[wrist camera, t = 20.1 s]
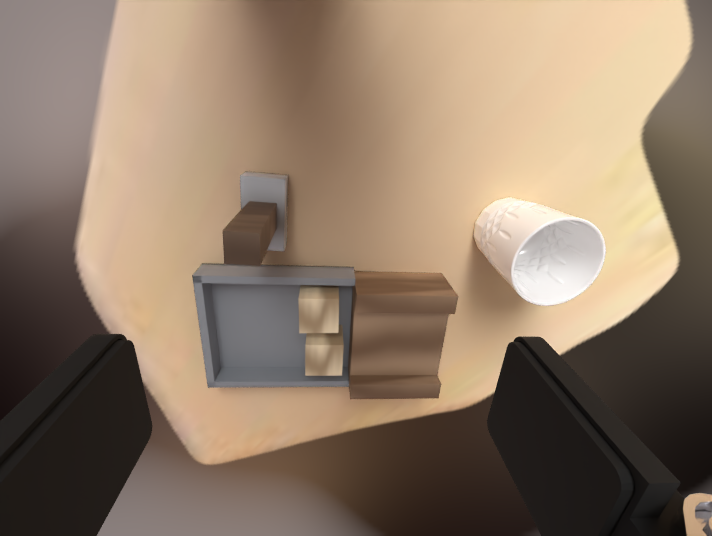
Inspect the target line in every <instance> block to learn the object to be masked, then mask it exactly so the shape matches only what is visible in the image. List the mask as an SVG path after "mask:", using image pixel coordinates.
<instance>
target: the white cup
mask: <svg viewBox="0 0 712 536" xmlns="http://www.w3.org/2000/svg"><path fill="white" fill-rule="evenodd" d="M473 236H474V239H475V242H476V245H477V247H478V249H479V250H480V251H481V252H482V253H483V254H484V255H485V256H486V258H487V259H488V261H489V262H490V263H491V264H492V265H493V267H494V268H495V269H496V270H497V271H498V272H499V274H500V275H501V276H502V277H503V278H504V279H505V280H506V281H507V282H508V283H509V284H510V285H511V287H512V288H513V289H514V290H515V291H516V292H517V293H518V294H519V295H520V296H521V297H522V298H523V299H524V300H526V301H528V302H530V303H532V304H536V305H542V306H551V305H557V304H561V303H564V302H567V301H569V300H571V299H573V298H575V297H577V296H578V295H580V294H581V293H582V292H584V291H585V290H586V289H587V288H588V287H589V286H590V285H591V284H592V283H593V282H594V280H595V279H596V278H597V276H598V274H599V273H600V271H601V269H602V266H603V263H604V260H605V254H606V247H605V241H604V238H603V235H602V234H601V232H600V230H599V229H598V228H597V227H596V226H595V225H594V224H592V223H591V222H589V221H587V220H584V219H581V218H578V217H575V216H572V215H570V214H567V213H564V212H561V211H558V210H555V209H552V208H549V207H546V206H543V205H540V204H536V203H533V202H527V201H524V200H520V199H516V198H512V197H508V198H504V199H500V200H496V201H494V202H493V203H491V204H490V205H489V206H487V207H486V208H485V209H483V211H482V212H481V214H480V215H479V217H478V219H477V220H476V222H475V228H474V235H473Z"/></svg>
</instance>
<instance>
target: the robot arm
mask: <svg viewBox="0 0 712 536" xmlns="http://www.w3.org/2000/svg"><path fill="white" fill-rule="evenodd" d="M487 421H488V422H487V423H488V430H489V433H490V435H491V437H492V439H493V441H494V443H495V445H496V447H497V449H498V451H499V453H500V455H501V457H502V459H503V461H504V463H505V465H506V467H507V469H508V471H509V473H510V475H511V476H512V478H513V480H514V482H515V484H516V486H517V488H518V490H519V492H520V494H521V496H522V498H523V500H524V502H525V504H526V506H527V508H528V510H529V512H530V514H531V516H532V518H533V520H534V522H535V524H536V526H537V528H538V530H539V532H540V534H541V536H712V495H709V494H703V493H697V494H691V495H689V496H688V497H687V498H686V499H684V498H683V497H682V496H681V495H680V493H679V492H678V491H677V490H676V489H677V488H678V486H679V484H680V482H679V481H678V479H676V477H675V476H674V475H673V474H672V473H671V472H670V471H669V470H668V469H667V468H666V467H665V466H664V465H663V464H662V463H661V462H660V461H659V459H658V458H657V457H656V456H655V455H654V454H653V453H652V452H651V451H650V450H649V449H648V448H647V447H646V446H645V445H644V444H643V443H642V442H641V441H640V440H639V439H638V437H637V436H636V435H635V434H634V433H633V432H632V431H631V430H630V429H629V428H628V427H627V426H626V425H625V424H624V423H623V422H622V421H621V420H620V419H619V418H618V417H617V415H616V414H615V413H614V412H613V411H612V410H611V409H610V408H609V407H608V406H607V405H606V404H605V403H604V402H603V401H602V400H601V399H600V398H599V397H598V396H597V395H596V393H595V392H594V391H593V390H592V389H591V388H590V387H589V386H588V385H587V384H586V383H585V382H584V381H583V380H582V379H581V378H580V377H579V376H578V375H577V373H575V371H574V370H573V369H572V368H571V367H570V366H569V365H568V364H567V363H566V362H565V361H564V360H563V359H562V358H561V357H560V356H559V355H558V354H557V353H556V351H555V350H554V349H553V348H552V347H551V346H550V345H549V344H548V343H547V342H546V341H545V340H544V339H543V338H541V337H516V338H515V340H514V342H511V343H509V344H508V347H507V350H506V353H505V357H504V361H503V364H502V368H501V372H500V375H499V379H498V383H497V386H496V390H495V394H494V398H493V401H492V405H491V408H490V412H489V415H488V420H487ZM151 431H152V421H151V417H150V413H149V408H148V405H147V400H146V395H145V391H144V387H143V382H142V378H141V374H140V369H139V365H138V361H137V357H136V352H135V348H134V344H133V343H132V341H130V340H127V339H126V337H125V336H124V335H122V334H94V335H92V336H91V337H89V338H88V339H87V340H86V341H85V342H84V343H83V344H82V345H81V346H80V347H79V348H78V349H77V350H76V351H74V352H73V353H72V354H71V355H70V356H69V357H68V358H67V359H66V360H65V361H64V362H63V363H62V364H61V365H59V366H58V367H57V368H56V369H55V370H54V371H53V372H52V373H51V374H50V375H49V376H48V377H47V378H46V379H45V380H44V381H43V382H41V384H39V385H38V386H37V387H36V388H35V389H34V390H33V391H32V392H31V393H30V394H29V395H28V396H26V398H25V399H24V400H22V401H21V402H20V403H19V404H18V405H17V406H16V407H15V408H14V409H13V410H12V411H11V412H9V413H8V414H7V415H6V416H5V417H4V418H3V419H2V420H1V421H0V536H97V534H98V532H99V530H100V528H101V527H102V525H103V523H104V521H105V519H106V517H107V516H108V514H109V512H110V510H111V508H112V506H113V505H114V503H115V501H116V499H117V497H118V496H119V494H120V492H121V490H122V488H123V486H124V485H125V483H126V481H127V479H128V477H129V475H130V474H131V472H132V470H133V468H134V466H135V465H136V463H137V461H138V459H139V457H140V455H141V454H142V452H143V450H144V448H145V446H146V444H147V443H148V441H149V438H150V436H151Z"/></svg>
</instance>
